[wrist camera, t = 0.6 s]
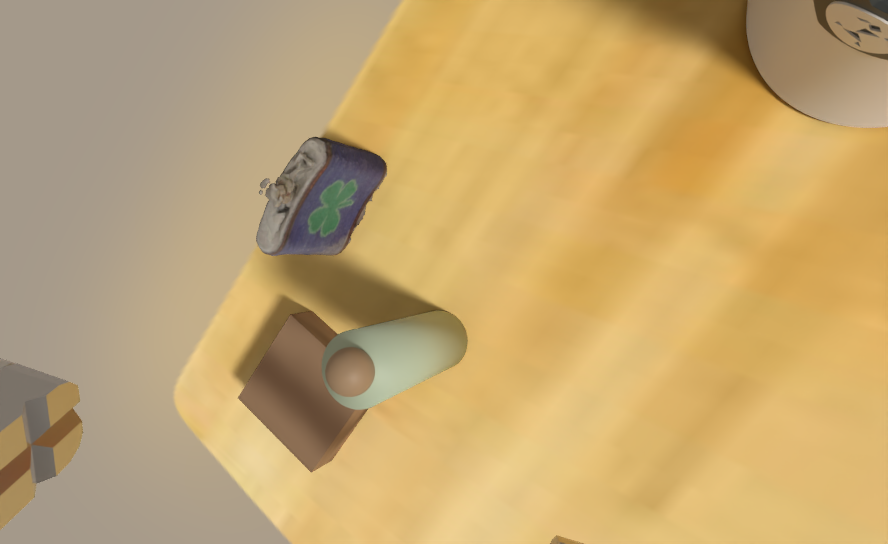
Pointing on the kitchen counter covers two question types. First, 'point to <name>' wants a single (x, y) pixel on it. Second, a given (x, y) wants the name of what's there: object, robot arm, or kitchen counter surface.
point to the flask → (319, 199)
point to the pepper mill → (391, 357)
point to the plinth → (300, 393)
